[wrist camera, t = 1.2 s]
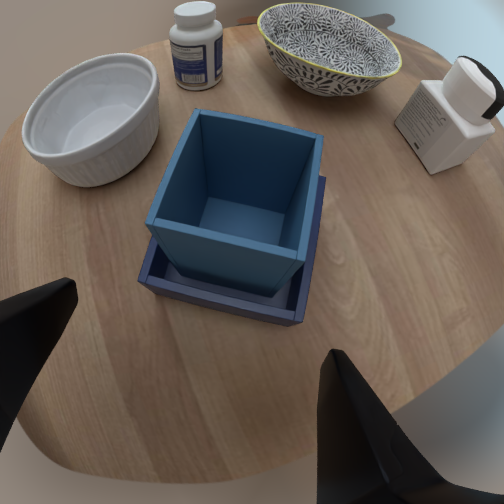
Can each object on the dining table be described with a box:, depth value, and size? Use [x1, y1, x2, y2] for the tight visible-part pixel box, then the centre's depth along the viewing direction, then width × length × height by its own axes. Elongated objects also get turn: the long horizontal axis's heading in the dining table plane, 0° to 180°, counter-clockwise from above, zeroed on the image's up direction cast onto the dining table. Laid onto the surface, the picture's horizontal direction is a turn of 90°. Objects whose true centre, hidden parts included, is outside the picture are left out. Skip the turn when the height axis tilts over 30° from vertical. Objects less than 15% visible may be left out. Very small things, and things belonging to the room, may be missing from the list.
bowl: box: [257, 3, 402, 96], centre depth 27 cm, size 16×16×8 cm
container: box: [395, 56, 504, 175], centre depth 23 cm, size 8×8×13 cm
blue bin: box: [145, 108, 324, 298], centre depth 18 cm, size 7×7×10 cm
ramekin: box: [22, 53, 160, 187], centre depth 22 cm, size 13×13×7 cm
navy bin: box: [138, 175, 326, 327], centre depth 21 cm, size 10×10×4 cm
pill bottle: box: [169, 1, 223, 90], centre depth 24 cm, size 5×5×10 cm
